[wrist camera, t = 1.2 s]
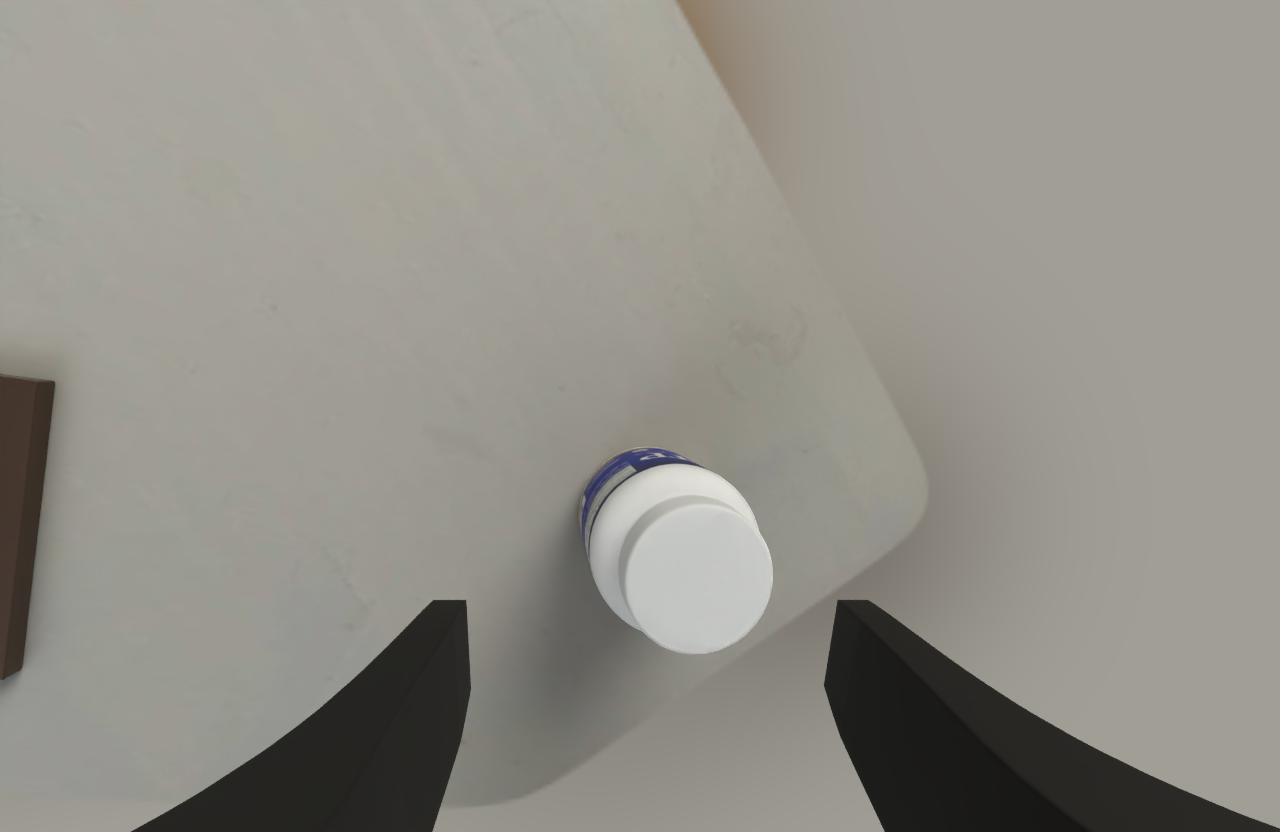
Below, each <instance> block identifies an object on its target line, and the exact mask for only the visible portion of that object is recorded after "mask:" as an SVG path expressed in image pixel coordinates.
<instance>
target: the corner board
mask: <svg viewBox="0 0 1280 832" xmlns="http://www.w3.org/2000/svg"><path fill="white" fill-rule="evenodd" d="M54 386H55V382H54V381H50V380H42V379H34V378H27V377H19V376H11V375H4V374H0V680H3V679H5V678H7V677H9V676H11V675H13V674H14V673H16V672H18V671H20V670H21V668H22V661H23V652H24V643H25V635H26V626H27V618H28V609H29V600H30V592H31V583H32V575H33V566H34V557H35V549H36V540H37V532H38V523H39V515H40V506H41V497H42V489H43V480H44V472H45V463H46V454H47V446H48V437H49V429H50V420H51V411H52V403H53V394H54Z"/></svg>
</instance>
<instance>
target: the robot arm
mask: <svg viewBox="0 0 1280 832" xmlns="http://www.w3.org/2000/svg"><path fill="white" fill-rule="evenodd" d="M824 687H825V690H826V693H827V697H828V700H829V703H830V707H831V710H832V713H833V716H834V719H835V722H836V725H837V728H838V731H839V734H840V736H841V739H842V741H843V743H844V745H845V748H846V750H847V752H848V754H849V756H850V759H851V761H852V763H853V765H854V767H855V769H856V772H857V774H858V776H859V778H860V780H861V782H862V784H863V786H864V788H865V791H866V793H867V795H868V797H869V799H870V801H871V803H872V805H873V807H874V810H875V812H876V814H877V816H878V818H879V820H880V822H881V825H882V827H883V829H884V831H885V832H1280V829H1279V828H1276V827H1274V826H1271V825H1269V824H1266V823H1263V822H1260V821H1258V820H1255V819H1252V818H1249V817H1247V816H1244V815H1241V814H1239V813H1236V812H1234V811H1231V810H1229V809H1227V808H1224V807H1222V806H1219V805H1217V804H1215V803H1212V802H1210V801H1207V800H1205V799H1203V798H1201V797H1198V796H1196V795H1193V794H1191V793H1188V792H1186V791H1184V790H1181V789H1179V788H1177V787H1175V786H1173V785H1170V784H1168V783H1166V782H1164V781H1162V780H1159V779H1157V778H1155V777H1153V776H1150V775H1148V774H1146V773H1144V772H1142V771H1140V770H1138V769H1136V768H1134V767H1132V766H1130V765H1128V764H1126V763H1124V762H1122V761H1120V760H1118V759H1116V758H1113V757H1111V756H1109V755H1107V754H1105V753H1103V752H1101V751H1099V750H1097V749H1095V748H1093V747H1092V746H1090V745H1088V744H1086V743H1084V742H1082V741H1080V740H1078V739H1076V738H1075V737H1073V736H1071V735H1069V734H1067V733H1066V732H1064V731H1062V730H1061V729H1059V728H1057V727H1055V726H1053V725H1052V724H1050V723H1048V722H1046V721H1045V720H1043V719H1041V718H1039V717H1038V716H1036V715H1034V714H1032V713H1031V712H1029V711H1027V710H1026V709H1024V708H1023V707H1021V706H1019V705H1018V704H1016V703H1015V702H1013V701H1011V700H1010V699H1008V698H1007V697H1005V696H1004V695H1002V694H1001V693H999V692H998V691H996V690H995V689H993V688H992V687H990V686H988V685H987V684H985V683H984V682H982V681H981V680H979V679H978V678H976V677H975V676H974V675H972V674H971V673H969V672H968V671H966V670H965V669H963V668H962V667H960V666H959V665H958V664H956V663H955V662H953V661H952V660H950V659H949V658H948V657H946V656H945V655H944V654H942V653H941V652H940V651H938V650H937V649H935V648H934V647H933V646H931V645H930V644H929V643H927V642H926V641H924V640H923V639H922V638H920V637H919V636H918V635H916V634H915V633H914V632H912V631H911V630H910V629H908V628H907V627H906V626H904V625H903V624H902V623H900V622H899V621H898V620H896V619H895V618H893V617H892V616H891V615H889V614H888V613H886V612H885V611H884V610H882V609H881V608H879V607H878V606H876V605H875V604H873V603H872V602H870V601H869V600H838V602H837V607H836V614H835V620H834V626H833V633H832V639H831V645H830V651H829V657H828V663H827V670H826V676H825V682H824ZM470 691H471V682H470V662H469V643H468V624H467V605H466V600H433V601H432V602H431V603H430V604H429V605H428V606H427V607H426V608H425V609H424V610H423V611H422V612H421V613H420V614H419V615H418V616H417V617H416V618H415V619H414V620H413V621H412V622H411V623H410V624H409V625H408V626H407V627H406V628H405V629H404V630H403V631H402V632H401V633H400V634H399V635H398V636H397V637H396V638H395V639H394V640H393V641H392V642H391V643H390V644H389V645H388V646H387V647H386V648H385V649H384V650H383V651H382V652H381V653H380V654H379V655H378V656H377V657H376V658H375V659H374V660H373V661H372V662H371V663H370V664H369V665H368V666H367V667H366V668H365V669H364V670H363V671H362V672H360V673H359V674H358V675H357V676H356V677H355V678H354V679H353V680H352V681H351V682H349V683H348V684H347V685H346V686H345V687H344V688H343V689H341V690H340V691H339V692H338V693H337V694H336V695H335V696H333V697H332V698H331V699H330V700H329V701H328V702H327V703H325V704H324V705H323V706H322V707H321V708H320V709H318V710H317V711H316V712H315V713H314V714H312V715H311V716H310V717H309V718H307V719H306V720H305V721H303V722H302V723H301V724H300V725H298V726H297V727H296V728H294V729H293V730H292V731H290V732H289V733H287V734H286V735H285V736H283V737H282V738H281V739H279V740H278V741H277V742H275V743H274V744H273V745H271V746H270V747H268V748H267V749H266V750H264V751H263V752H261V753H260V754H258V755H257V756H255V757H254V758H252V759H251V760H249V761H248V762H246V763H245V764H243V765H241V766H240V767H238V768H237V769H235V770H234V771H232V772H231V773H229V774H228V775H226V776H225V777H223V778H222V779H220V780H218V781H217V782H215V783H214V784H212V785H211V786H209V787H208V788H206V789H205V790H203V791H201V792H200V793H198V794H196V795H195V796H193V797H191V798H190V799H188V800H186V801H185V802H183V803H181V804H179V805H178V806H176V807H174V808H173V809H171V810H169V811H168V812H166V813H164V814H162V815H160V816H159V817H157V818H155V819H153V820H151V821H149V822H148V823H146V824H144V825H142V826H140V827H139V828H137V829H135V830H133V831H131V832H432V831H433V828H434V825H435V821H436V818H437V815H438V812H439V809H440V806H441V803H442V800H443V796H444V793H445V790H446V787H447V784H448V781H449V778H450V774H451V771H452V768H453V765H454V762H455V758H456V755H457V752H458V749H459V745H460V742H461V737H462V733H463V728H464V723H465V718H466V712H467V707H468V702H469V696H470Z"/></svg>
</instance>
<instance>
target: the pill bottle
mask: <svg viewBox="0 0 1280 832" xmlns="http://www.w3.org/2000/svg"><path fill="white" fill-rule="evenodd" d="M579 525H580V531H581V536H582V539H583V542H584V545H585V549H586V552H587V557H588V560H589V564H590V567H591V571H592V575H593V578H594V580H595V583H596V585H597V587H598V589H599V591H600V593H601V595H602V597H603V598H604V600H605V601H606V603H607V604H608V605H609V606H610V608H611V609H612V610H613V611H614V612H615V613H616V614H617V615H618V616H619V617H620V618H621V619H622V620H623V621H625V622H626V623H628V624H629V625H630V626H632V627H634V628H636V629H637V630H640V631H642V632H643V633H644V634H645V635H647V636H648V637H649V638H650V639H651V640H652V641H654V642H655V643H657V644H658V645H660V646H662V647H664V648H666V649H669V650H671V651H674V652H677V653H682V654H691V655H700V654H708V653H712V652H716V651H719V650H722V649H724V648H726V647H728V646H731V645H733V644H734V643H736V642H737V641H739V640H740V639H741V638H743V637H744V636H745V635H746V634H747V633H748V632H749V631H750V630H751V629H752V628H753V627H754V626H755V624H756V623H757V622H758V621H759V619H760V618H761V616H762V614H763V612H764V611H765V608H766V606H767V604H768V601H769V598H770V594H771V590H772V583H773V568H772V561H771V556H770V553H769V550H768V547H767V545H766V543H765V541H764V539H763V537H762V536H761V534H760V533H759V529H758V525H757V522H756V519H755V517H754V514H753V512H752V510H751V509H750V507H749V505H748V504H747V502H746V501H745V499H744V498H743V497H742V495H741V494H740V493H739V492H738V491H737V490H736V489H735V488H734V487H733V486H732V485H731V484H730V483H729V482H727V481H726V480H725V479H723V478H722V477H721V476H719V475H717V474H716V473H714V472H712V471H710V470H708V469H706V468H704V467H702V466H700V465H698V464H696V463H694V462H692V461H690V460H688V459H686V458H684V457H682V456H680V455H678V454H676V453H674V452H672V451H669V450H666V449H662V448H658V447H637V448H632V449H628V450H625V451H622V452H620V453H618V454H616V455H614V456H612V457H610V458H609V459H608V460H606V461H605V462H604V463H603V464H601V465H600V466H599V467H598V468H597V469H596V471H595V472H594V473H593V474H592V475H591V477H590V479H589V480H588V482H587V484H586V486H585V488H584V490H583V493H582V496H581V500H580V505H579Z"/></svg>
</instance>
